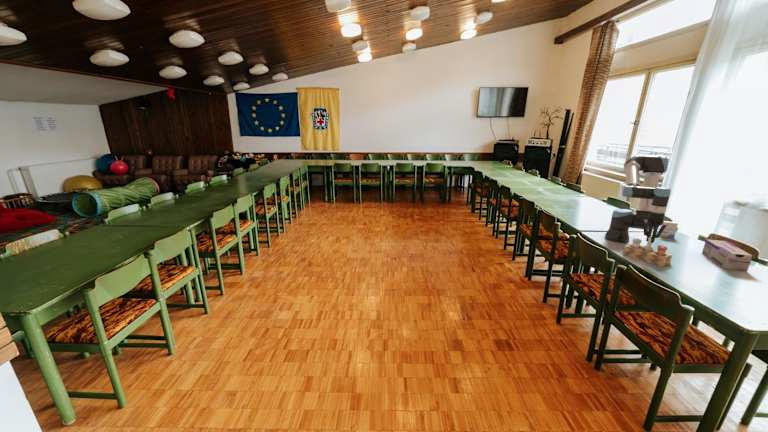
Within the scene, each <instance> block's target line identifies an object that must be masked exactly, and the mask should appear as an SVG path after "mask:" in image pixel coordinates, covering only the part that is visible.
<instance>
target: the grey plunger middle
mask: <svg viewBox="0 0 768 432" xmlns="http://www.w3.org/2000/svg"><path fill="white" fill-rule="evenodd" d="M643 246H644V251H648V252H651V251H652V250H653V249H654V247H653V246H651V247H646V246H647V245H643Z"/></svg>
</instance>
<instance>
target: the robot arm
mask: <svg viewBox="0 0 768 432" xmlns="http://www.w3.org/2000/svg"><path fill="white" fill-rule="evenodd" d="M668 166H669V162H668V157H666V156H665V155H652V154H646V155H645V154H644V155H643V154H638V155H635V156H632V157H630V158H628V159H627V160H626V161H625V163H624V164H623V170H624V172H625V185H624V186H623V188H622V194H621V195H622V197H623V198H629V199H630V198H632V199H639V200H640V201H639V205H638V206H639V207H638V208H637V209H636V210H635V212H634V211H633V210H632V209H628V208H618V209H614V210H613V211H612V213H611V220H610V223H609V228H608V230H607V231H606V233H605V235H604V238H605V239H606V240H608V241H611V242H615V243H628V242H629V241H630V233H629V229H638V230H643V235H644V236H646V239H645V242H646V245H645V246H646V247H652V246H653V244H654V243H655V240H656V239H658V238H660V237H661V236H660V235H661V234H662V232H663V230H664V229H665V228H666V227H667V226H668V225H666V224H665V223H664V221H665V220H664V219H665V215H666V212H667V207H668V203H669V199H670V197H671V192H672V190H671V188H670V187H664V186H659V184H660V178H661V176H663V175H664V173H666V172H667V171H668ZM640 172H642V175H643V176H644V177H643V183H642V186H641V180H640V179H641V178H640ZM661 224H662V227H661ZM659 227H660V228H659Z"/></svg>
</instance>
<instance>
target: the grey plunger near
mask: <svg viewBox="0 0 768 432" xmlns="http://www.w3.org/2000/svg"><path fill="white" fill-rule="evenodd" d="M632 243H633V244H632ZM632 243H631V244H632V247H634V248H637V249H638V248H639V246H641V243H642V239H639V238H632Z"/></svg>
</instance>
